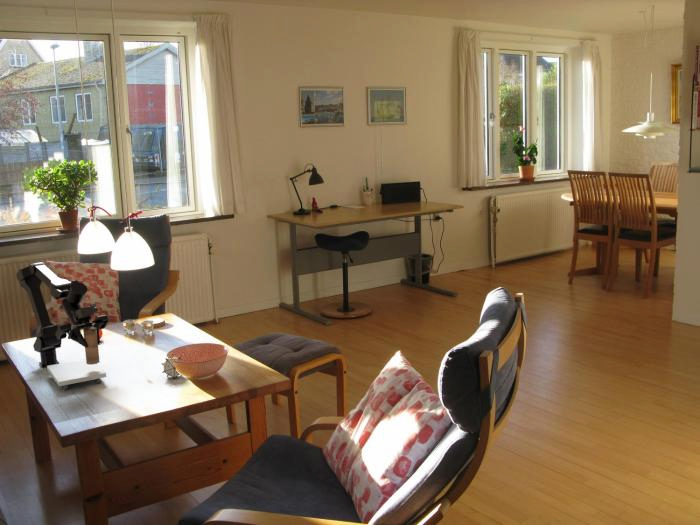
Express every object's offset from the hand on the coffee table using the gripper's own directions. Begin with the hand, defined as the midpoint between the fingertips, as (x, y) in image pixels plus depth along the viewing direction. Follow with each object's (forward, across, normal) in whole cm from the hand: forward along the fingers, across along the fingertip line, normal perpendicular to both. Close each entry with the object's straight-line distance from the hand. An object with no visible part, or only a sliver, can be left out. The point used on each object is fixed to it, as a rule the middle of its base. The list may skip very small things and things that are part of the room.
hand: (93, 345), depth 253 cm
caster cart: (+4, -3, +15) cm, 16 cm away
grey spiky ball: (+23, +20, -4) cm, 31 cm away
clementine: (-25, +28, +45) cm, 58 cm away
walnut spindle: (+4, 0, +6) cm, 7 cm away
